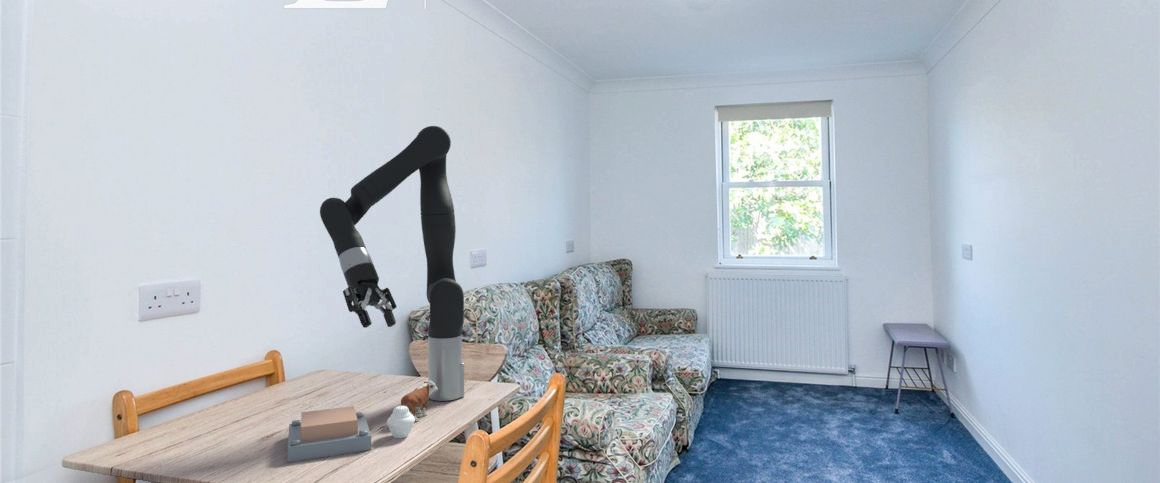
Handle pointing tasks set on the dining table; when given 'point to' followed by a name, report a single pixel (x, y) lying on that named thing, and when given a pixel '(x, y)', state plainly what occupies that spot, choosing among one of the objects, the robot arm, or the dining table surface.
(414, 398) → the bull figurine
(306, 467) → the dining table surface
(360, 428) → the grey pegged tray
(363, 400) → the dining table surface
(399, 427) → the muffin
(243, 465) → the dining table surface
